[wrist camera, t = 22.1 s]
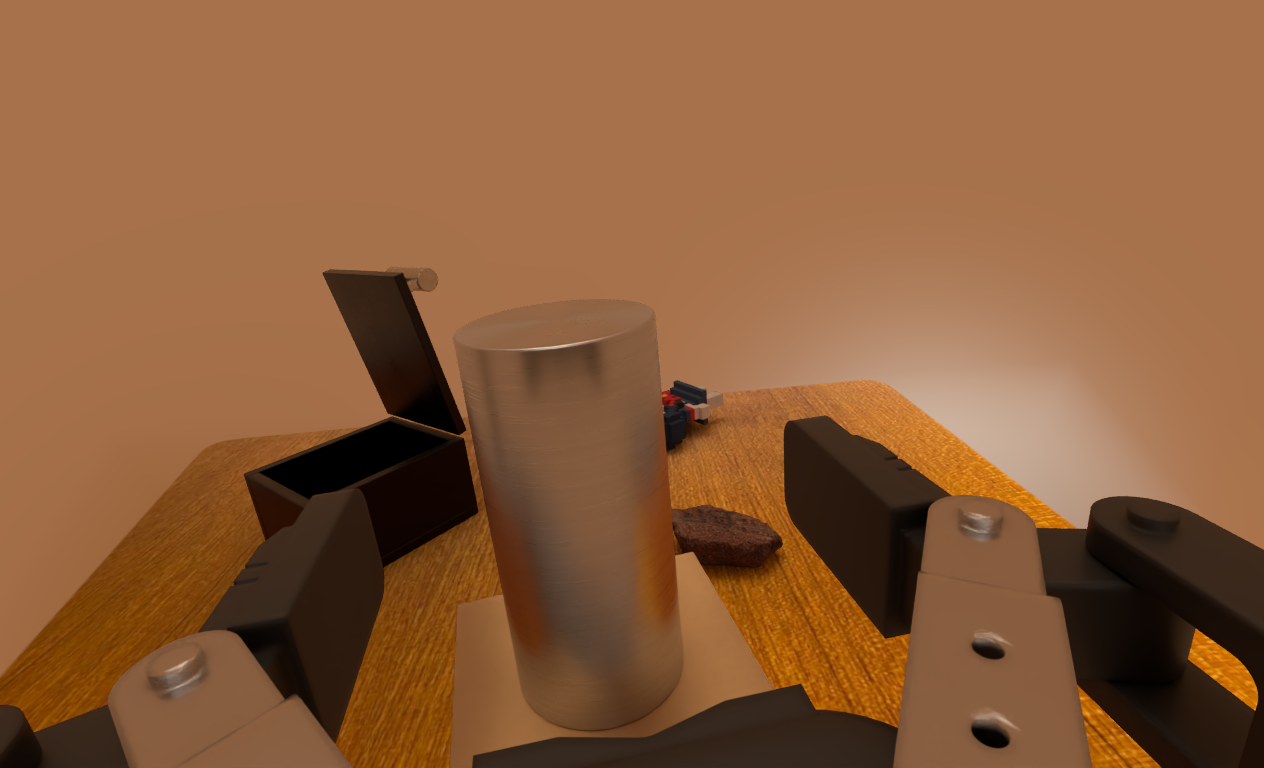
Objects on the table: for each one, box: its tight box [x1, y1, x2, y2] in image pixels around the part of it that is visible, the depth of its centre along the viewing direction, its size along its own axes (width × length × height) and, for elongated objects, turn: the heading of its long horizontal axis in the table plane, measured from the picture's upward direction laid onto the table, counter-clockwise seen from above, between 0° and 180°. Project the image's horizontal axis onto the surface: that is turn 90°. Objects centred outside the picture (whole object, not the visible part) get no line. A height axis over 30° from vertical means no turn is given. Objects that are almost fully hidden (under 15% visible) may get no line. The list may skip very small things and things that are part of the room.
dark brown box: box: [244, 417, 478, 567], centre depth 49 cm, size 13×11×7 cm
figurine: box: [662, 381, 723, 451], centre depth 62 cm, size 9×4×15 cm
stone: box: [671, 505, 783, 567], centre depth 43 cm, size 7×7×3 cm
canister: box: [453, 299, 683, 730], centre depth 19 cm, size 6×6×12 cm
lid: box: [323, 267, 466, 435], centre depth 51 cm, size 13×11×5 cm
